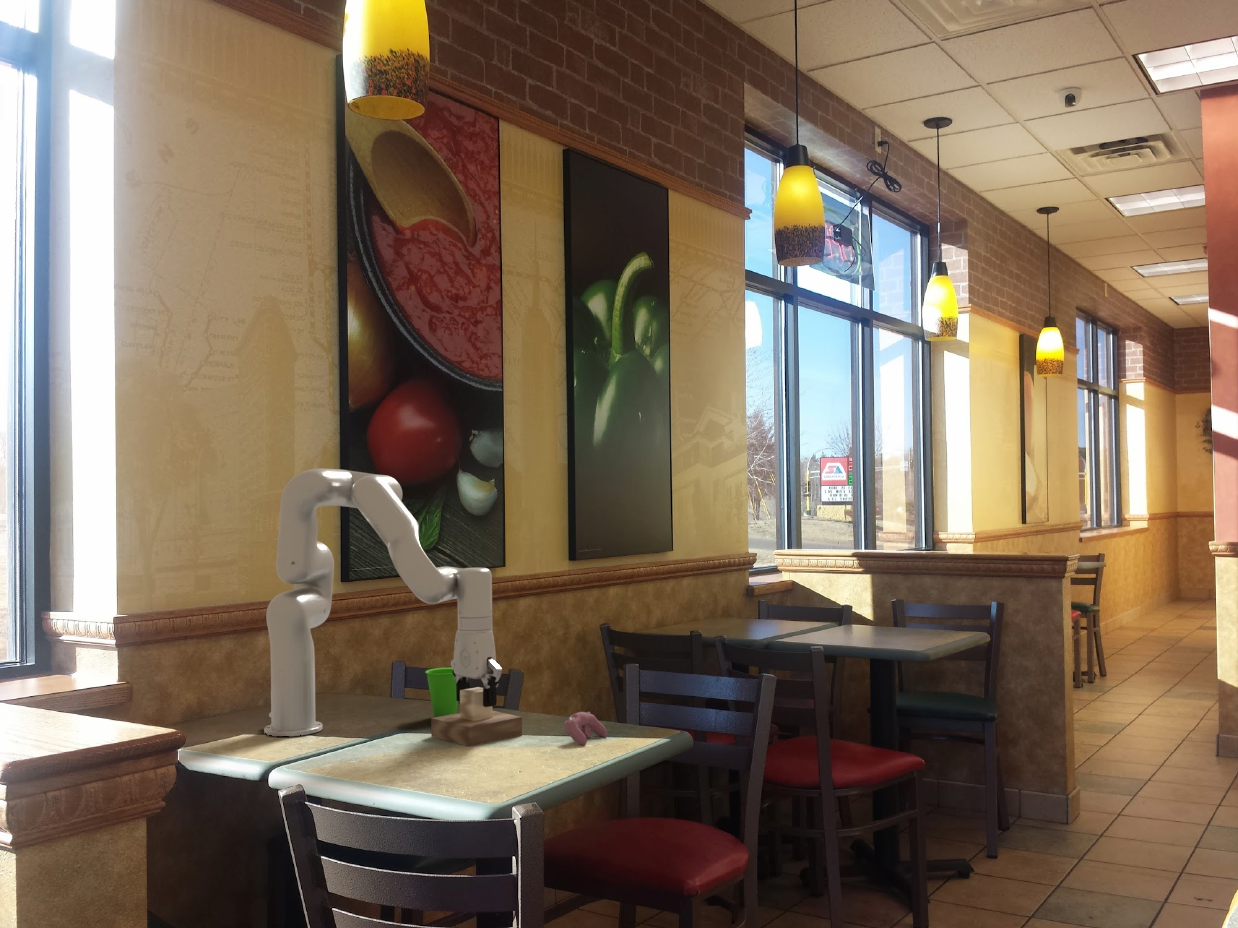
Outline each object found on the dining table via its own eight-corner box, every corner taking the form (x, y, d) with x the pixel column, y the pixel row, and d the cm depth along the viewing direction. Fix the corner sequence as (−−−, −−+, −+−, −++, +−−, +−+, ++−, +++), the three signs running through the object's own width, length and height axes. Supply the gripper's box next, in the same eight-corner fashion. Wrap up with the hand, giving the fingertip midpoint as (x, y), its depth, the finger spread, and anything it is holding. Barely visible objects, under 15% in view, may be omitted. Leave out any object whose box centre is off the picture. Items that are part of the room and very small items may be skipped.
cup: (457, 721, 256) (457, 673, 256) (420, 720, 257) (419, 673, 258) (469, 713, 265) (468, 667, 265) (432, 713, 266) (432, 667, 267)
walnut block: (431, 736, 241) (431, 717, 241) (483, 726, 250) (483, 708, 250) (469, 746, 231) (469, 727, 231) (522, 735, 240) (521, 716, 240)
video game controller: (594, 742, 239) (581, 712, 241) (610, 734, 237) (597, 704, 239) (569, 752, 231) (556, 720, 233) (586, 744, 229) (572, 712, 231)
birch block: (460, 717, 241) (459, 690, 241) (478, 714, 244) (478, 686, 244) (474, 720, 237) (473, 692, 237) (492, 717, 240) (492, 689, 241)
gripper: (438, 623, 245) (439, 700, 244) (485, 629, 232) (486, 711, 232) (465, 620, 250) (466, 695, 249) (513, 625, 237) (514, 705, 237)
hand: (476, 703), depth 241 cm, fingers open, 9 cm apart
